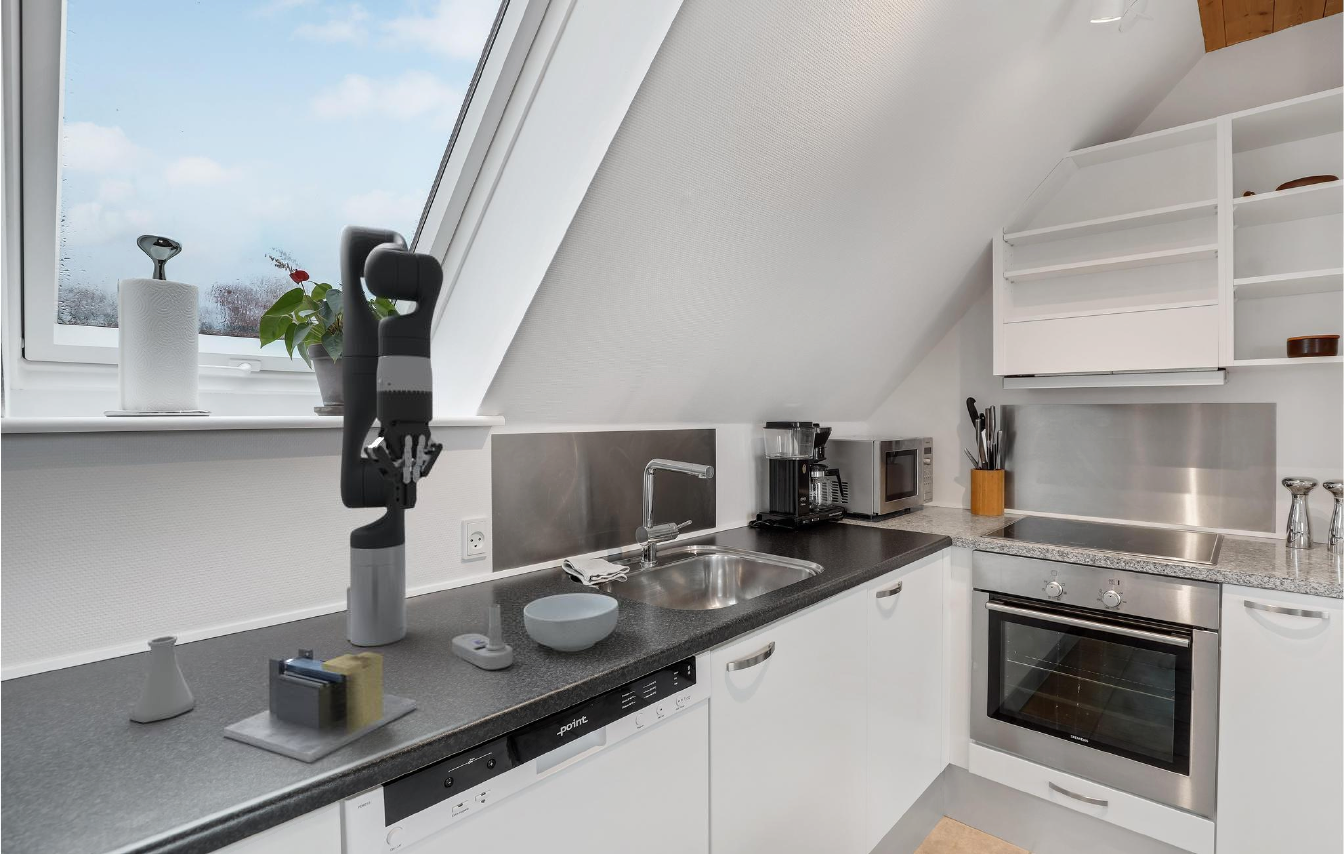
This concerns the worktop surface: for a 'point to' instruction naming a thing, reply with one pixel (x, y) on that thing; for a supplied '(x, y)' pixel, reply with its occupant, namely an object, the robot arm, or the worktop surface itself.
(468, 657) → the electronic device
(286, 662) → the blue bar
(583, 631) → the cereal bowl
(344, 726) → the clip base
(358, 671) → the block
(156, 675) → the flask
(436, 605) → the worktop surface
